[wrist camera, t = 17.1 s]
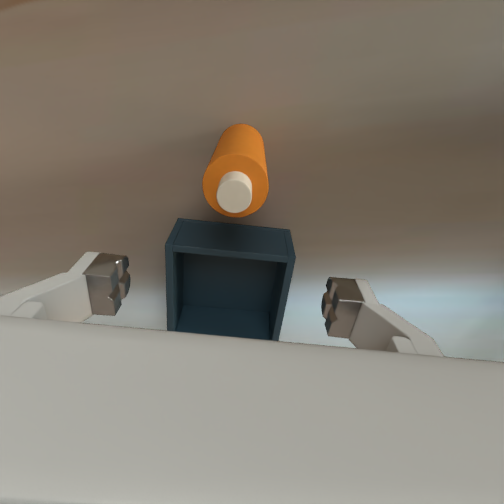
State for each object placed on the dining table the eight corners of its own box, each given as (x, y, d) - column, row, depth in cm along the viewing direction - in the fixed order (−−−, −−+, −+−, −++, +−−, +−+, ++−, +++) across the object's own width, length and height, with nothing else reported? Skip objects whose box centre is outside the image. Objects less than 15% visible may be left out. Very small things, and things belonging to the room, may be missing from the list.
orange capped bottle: (266, 126, 34) (274, 165, 21) (260, 171, 36) (264, 232, 23) (220, 121, 33) (199, 157, 20) (217, 167, 36) (197, 225, 23)
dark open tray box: (289, 229, 40) (295, 257, 34) (273, 314, 46) (276, 349, 41) (177, 218, 39) (164, 244, 33) (178, 306, 46) (167, 340, 40)
